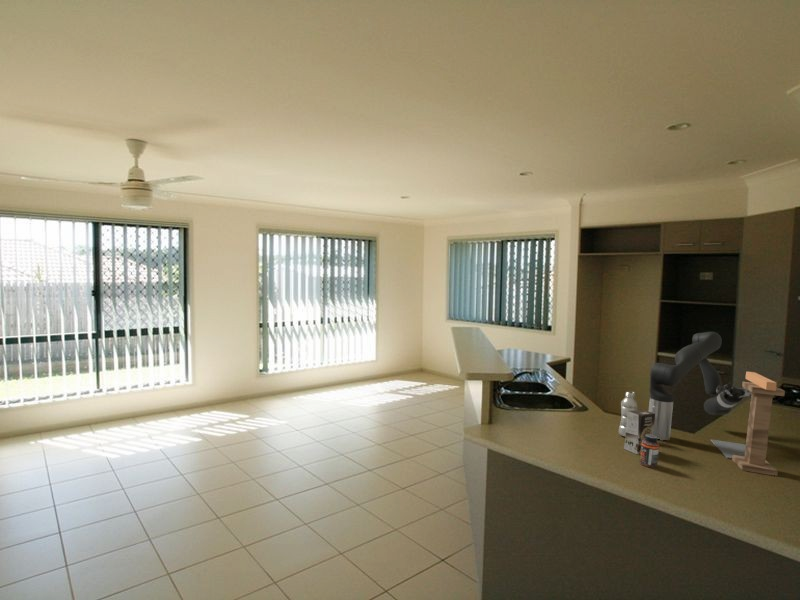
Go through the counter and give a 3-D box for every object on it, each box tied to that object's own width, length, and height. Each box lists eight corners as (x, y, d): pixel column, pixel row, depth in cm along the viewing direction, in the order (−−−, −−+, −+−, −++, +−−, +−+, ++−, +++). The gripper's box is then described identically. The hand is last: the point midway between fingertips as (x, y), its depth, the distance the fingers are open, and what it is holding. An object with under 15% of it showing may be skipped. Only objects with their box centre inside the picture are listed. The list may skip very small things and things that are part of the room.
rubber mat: (768, 465, 183) (768, 463, 182) (727, 458, 187) (727, 457, 187) (747, 445, 203) (747, 444, 203) (710, 440, 208) (710, 439, 208)
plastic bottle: (636, 440, 202) (641, 395, 201) (620, 438, 204) (624, 393, 202) (632, 435, 209) (636, 391, 207) (616, 433, 210) (620, 389, 209)
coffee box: (637, 455, 185) (641, 415, 184) (623, 449, 191) (627, 410, 190) (652, 452, 189) (656, 413, 188) (637, 446, 195) (641, 408, 194)
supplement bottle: (636, 461, 178) (638, 432, 177) (650, 461, 179) (653, 433, 178) (645, 468, 172) (648, 438, 171) (660, 468, 173) (663, 438, 172)
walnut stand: (777, 476, 172) (787, 391, 170) (742, 470, 176) (751, 387, 174) (764, 464, 183) (773, 384, 180) (732, 459, 186) (740, 381, 184)
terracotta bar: (775, 390, 170) (776, 382, 170) (766, 389, 171) (766, 381, 171) (754, 379, 189) (754, 372, 189) (745, 378, 190) (746, 371, 190)
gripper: (710, 387, 213) (722, 375, 199) (747, 391, 208) (762, 380, 195) (711, 403, 210) (723, 392, 196) (748, 407, 205) (764, 397, 192)
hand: (742, 386), depth 195 cm, fingers open, 8 cm apart
